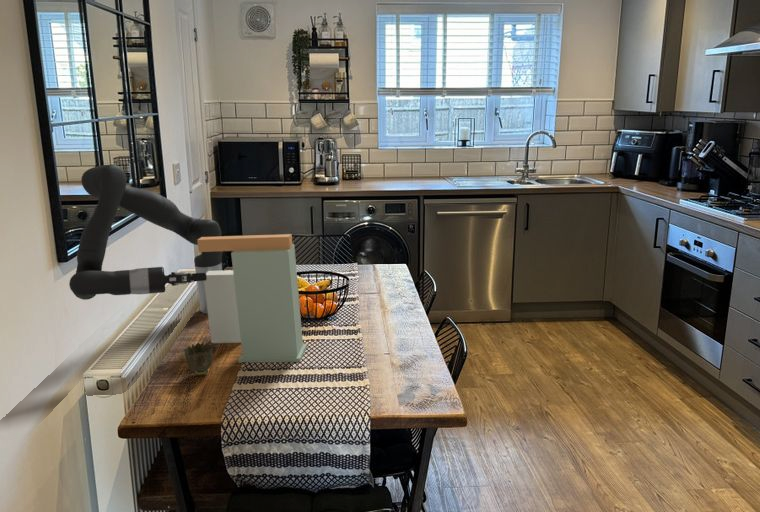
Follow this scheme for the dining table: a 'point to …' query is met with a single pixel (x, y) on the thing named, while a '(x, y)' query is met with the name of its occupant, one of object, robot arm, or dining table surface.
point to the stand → (268, 305)
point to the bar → (245, 243)
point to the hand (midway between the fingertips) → (205, 276)
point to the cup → (199, 358)
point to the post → (222, 307)
